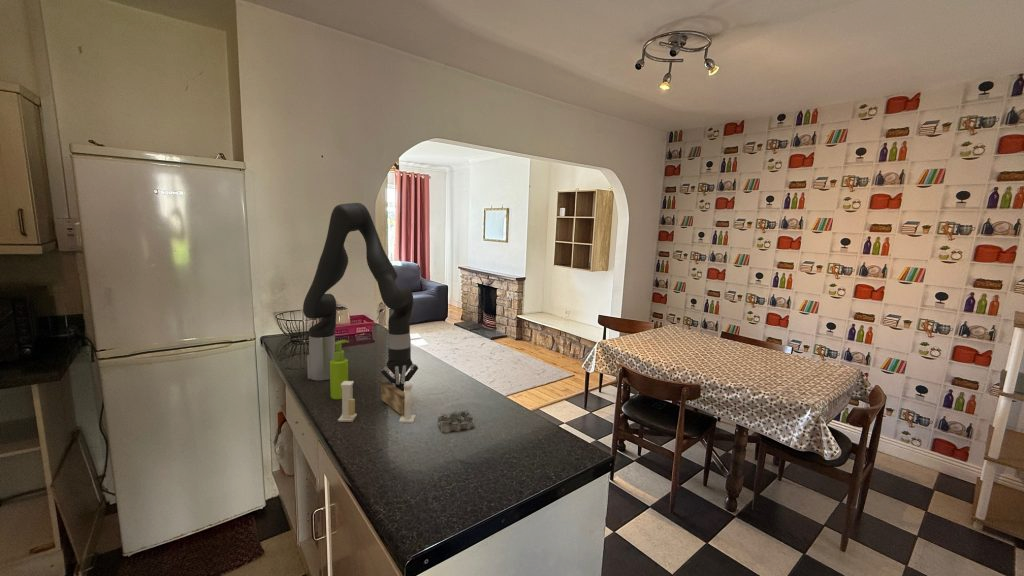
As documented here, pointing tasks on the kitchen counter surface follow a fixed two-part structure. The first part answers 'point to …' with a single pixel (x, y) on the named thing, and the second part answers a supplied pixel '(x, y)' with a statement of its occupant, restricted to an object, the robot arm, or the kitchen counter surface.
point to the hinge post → (407, 405)
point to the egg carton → (455, 421)
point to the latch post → (347, 402)
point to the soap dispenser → (338, 371)
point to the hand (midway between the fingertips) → (399, 393)
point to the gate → (393, 396)
